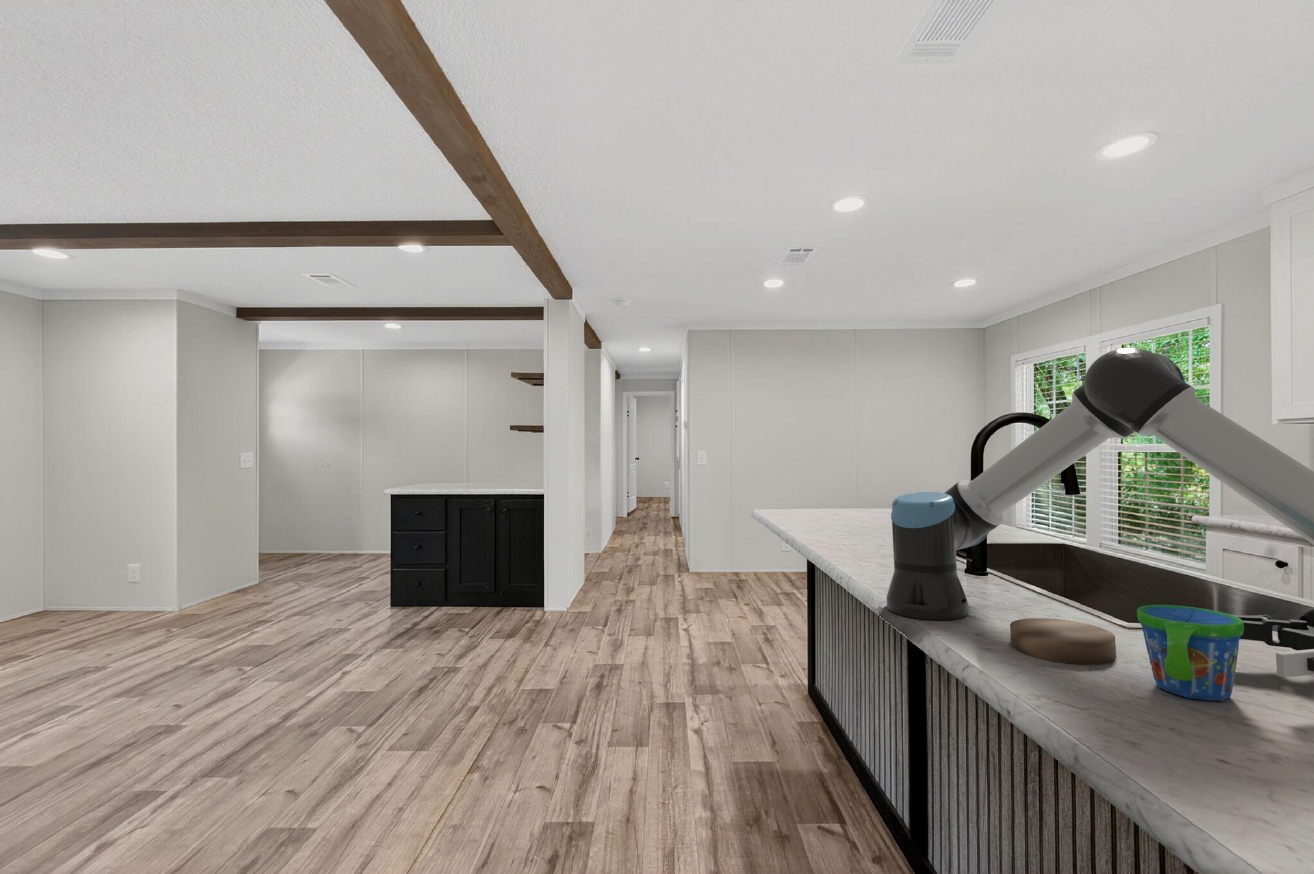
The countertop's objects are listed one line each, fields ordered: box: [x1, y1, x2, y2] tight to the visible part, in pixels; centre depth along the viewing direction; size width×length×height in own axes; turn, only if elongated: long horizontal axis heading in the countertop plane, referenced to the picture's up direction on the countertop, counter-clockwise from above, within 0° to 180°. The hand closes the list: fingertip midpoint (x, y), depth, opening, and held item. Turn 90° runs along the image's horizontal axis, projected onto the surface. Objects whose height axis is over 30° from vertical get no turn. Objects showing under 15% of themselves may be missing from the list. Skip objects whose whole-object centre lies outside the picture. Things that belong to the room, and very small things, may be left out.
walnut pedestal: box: [1009, 617, 1117, 666], centre depth 96 cm, size 14×14×3 cm
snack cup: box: [1136, 604, 1244, 702], centre depth 78 cm, size 16×10×10 cm
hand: (1218, 646), depth 78 cm, fingers open, 13 cm apart
